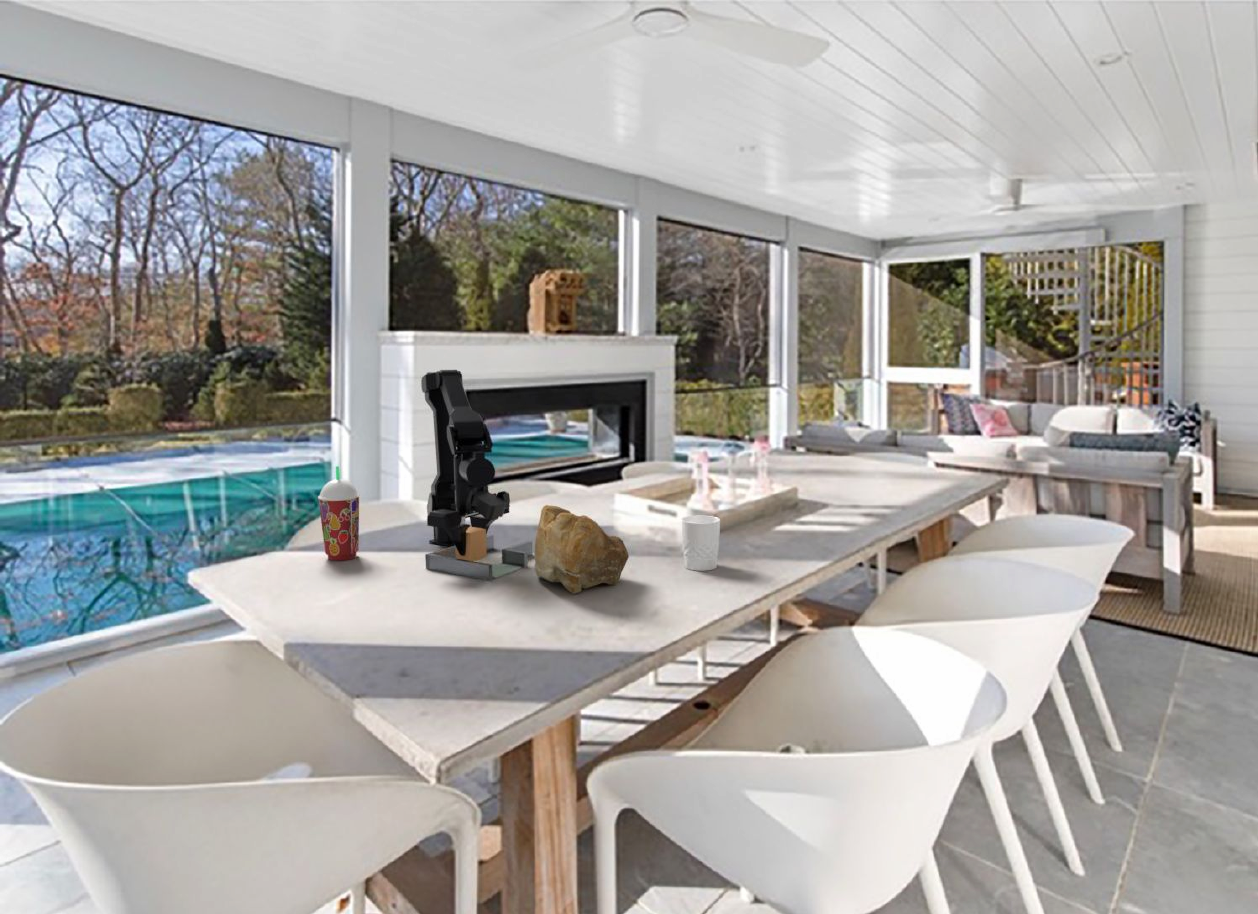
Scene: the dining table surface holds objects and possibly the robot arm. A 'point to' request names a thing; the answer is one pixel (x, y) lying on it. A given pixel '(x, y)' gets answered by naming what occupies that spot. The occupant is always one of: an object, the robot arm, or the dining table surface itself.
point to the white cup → (700, 542)
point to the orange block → (474, 544)
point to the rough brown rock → (576, 551)
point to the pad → (502, 569)
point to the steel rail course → (450, 564)
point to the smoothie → (340, 519)
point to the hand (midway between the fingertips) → (470, 553)
